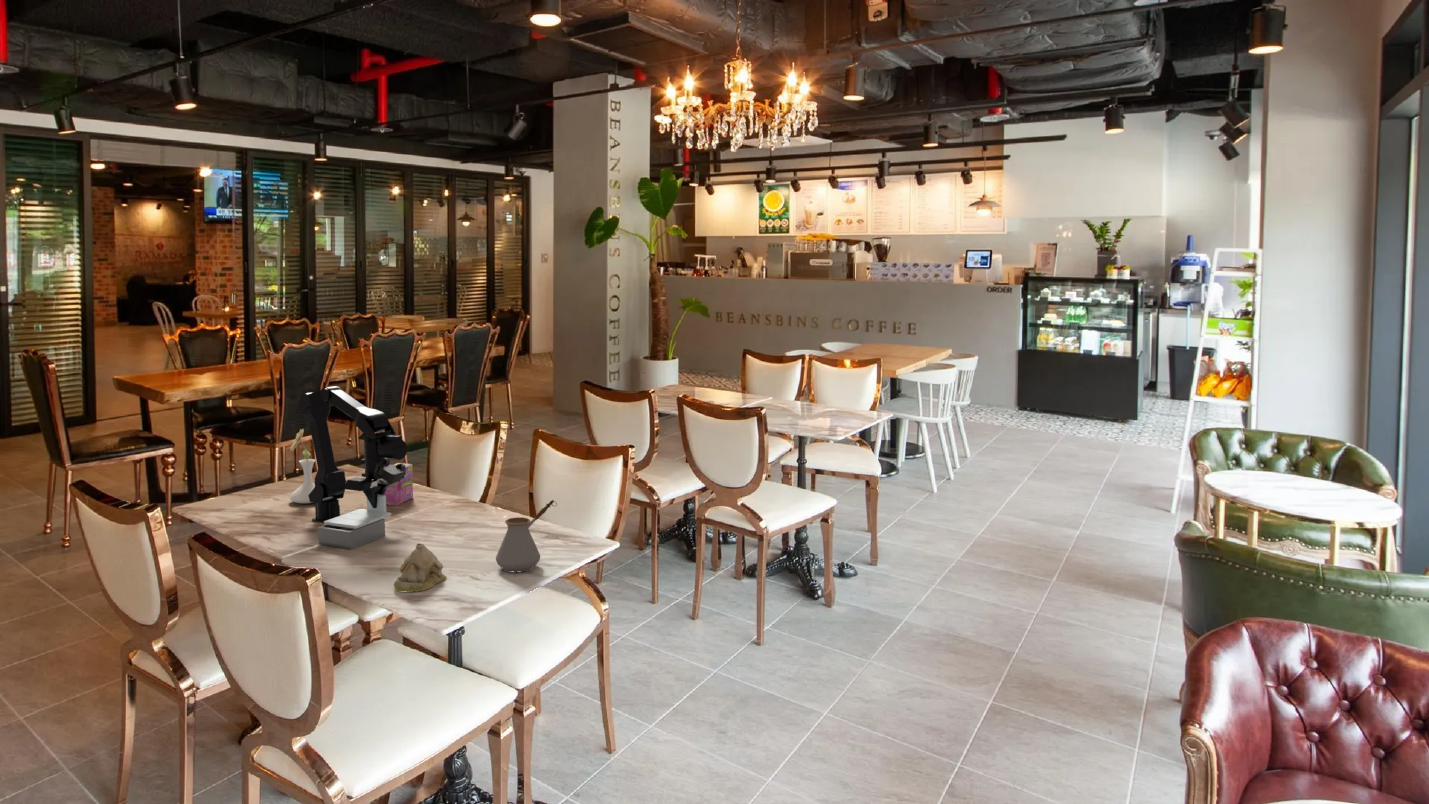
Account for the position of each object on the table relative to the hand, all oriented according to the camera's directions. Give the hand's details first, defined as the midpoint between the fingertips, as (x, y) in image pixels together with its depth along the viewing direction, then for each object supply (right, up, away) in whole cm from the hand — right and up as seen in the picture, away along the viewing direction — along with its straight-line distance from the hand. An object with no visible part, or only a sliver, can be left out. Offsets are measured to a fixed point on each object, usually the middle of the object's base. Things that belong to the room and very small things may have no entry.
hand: (376, 507), depth 259 cm
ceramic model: (+26, -14, -40) cm, 50 cm away
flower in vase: (-34, -2, +29) cm, 44 cm away
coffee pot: (+50, -12, -23) cm, 57 cm away
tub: (-4, -8, -8) cm, 12 cm away
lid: (-2, -3, -6) cm, 7 cm away
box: (-6, -2, +33) cm, 34 cm away
